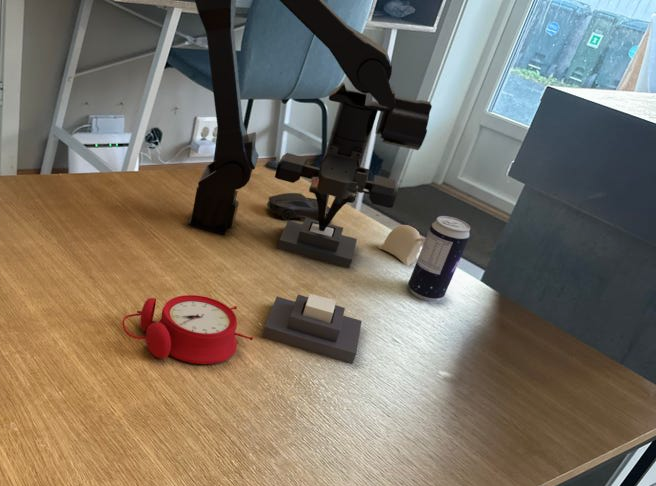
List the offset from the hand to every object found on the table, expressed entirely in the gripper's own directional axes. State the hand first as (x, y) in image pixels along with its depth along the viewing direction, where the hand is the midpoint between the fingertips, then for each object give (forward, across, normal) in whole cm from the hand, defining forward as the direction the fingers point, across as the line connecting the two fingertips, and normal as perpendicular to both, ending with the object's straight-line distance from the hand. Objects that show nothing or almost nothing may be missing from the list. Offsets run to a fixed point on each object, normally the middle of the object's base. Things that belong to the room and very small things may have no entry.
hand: (321, 229), depth 115 cm
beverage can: (+4, +18, -6) cm, 19 cm away
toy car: (+4, -5, +12) cm, 13 cm away
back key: (+2, 0, 0) cm, 2 cm away
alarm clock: (+4, -12, -39) cm, 41 cm away
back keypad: (+3, 0, 0) cm, 3 cm away
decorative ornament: (+4, +14, +6) cm, 16 cm away
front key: (0, +3, -28) cm, 28 cm away
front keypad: (+3, +3, -28) cm, 28 cm away
